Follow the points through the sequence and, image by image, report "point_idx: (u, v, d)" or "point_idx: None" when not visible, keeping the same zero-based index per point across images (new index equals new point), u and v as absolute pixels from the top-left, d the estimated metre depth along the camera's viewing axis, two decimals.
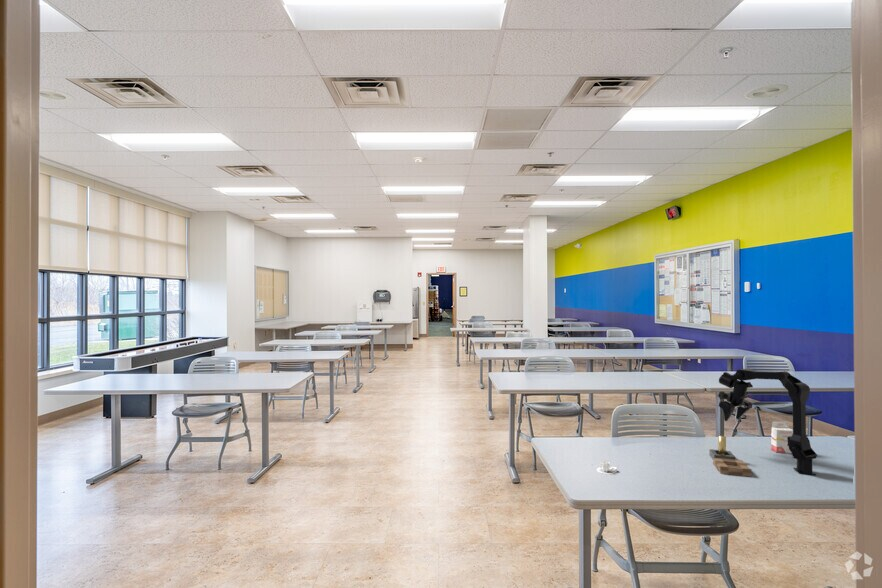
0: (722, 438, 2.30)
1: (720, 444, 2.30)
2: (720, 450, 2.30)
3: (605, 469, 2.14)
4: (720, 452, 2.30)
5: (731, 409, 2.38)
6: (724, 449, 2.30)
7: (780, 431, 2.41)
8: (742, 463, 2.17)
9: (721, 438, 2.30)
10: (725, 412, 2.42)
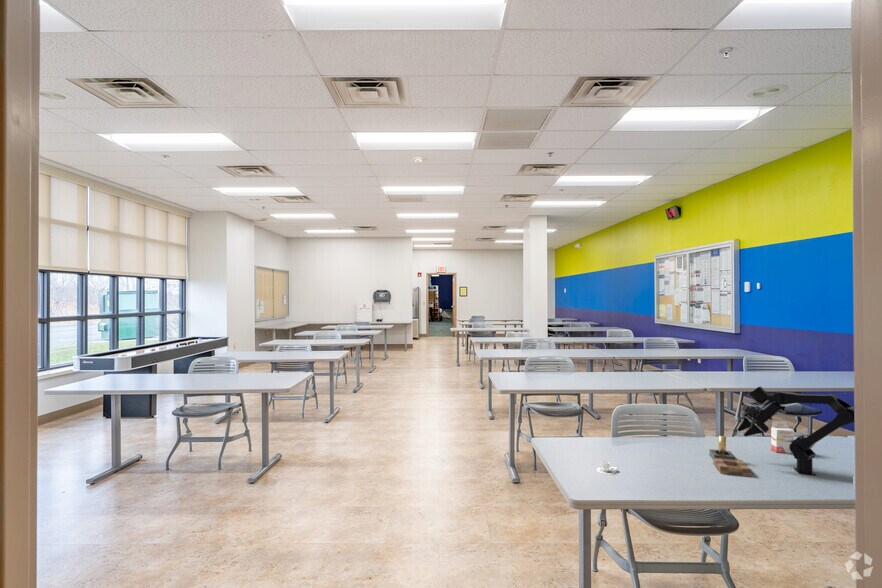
0: (722, 438, 2.30)
1: (720, 444, 2.30)
2: (720, 450, 2.30)
3: (605, 469, 2.14)
4: (720, 452, 2.30)
5: None
6: (724, 449, 2.30)
7: (780, 431, 2.41)
8: (742, 463, 2.17)
9: (721, 438, 2.30)
10: (752, 429, 2.22)
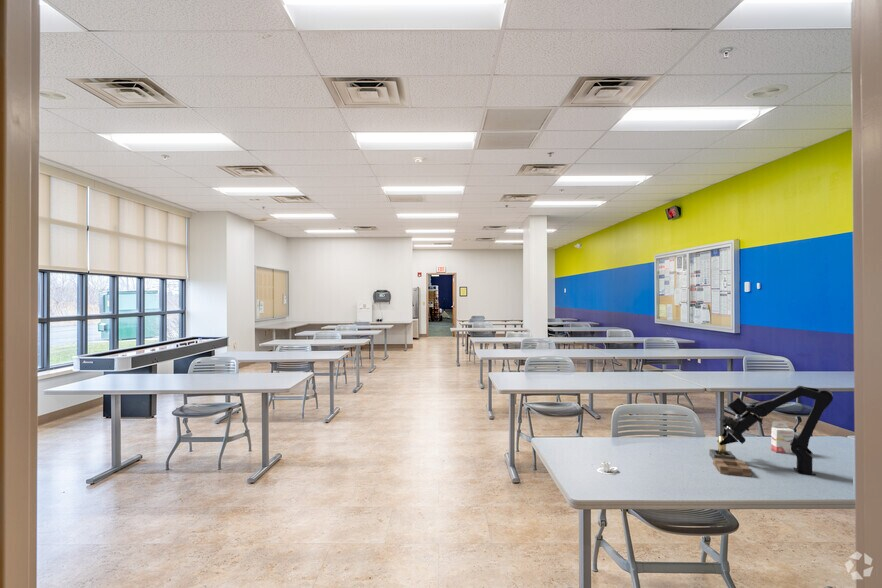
0: (722, 438, 2.30)
1: None
2: (720, 450, 2.30)
3: (605, 469, 2.14)
4: (720, 452, 2.30)
5: None
6: (724, 449, 2.30)
7: (780, 431, 2.41)
8: (742, 463, 2.17)
9: (721, 438, 2.30)
10: (727, 438, 2.28)
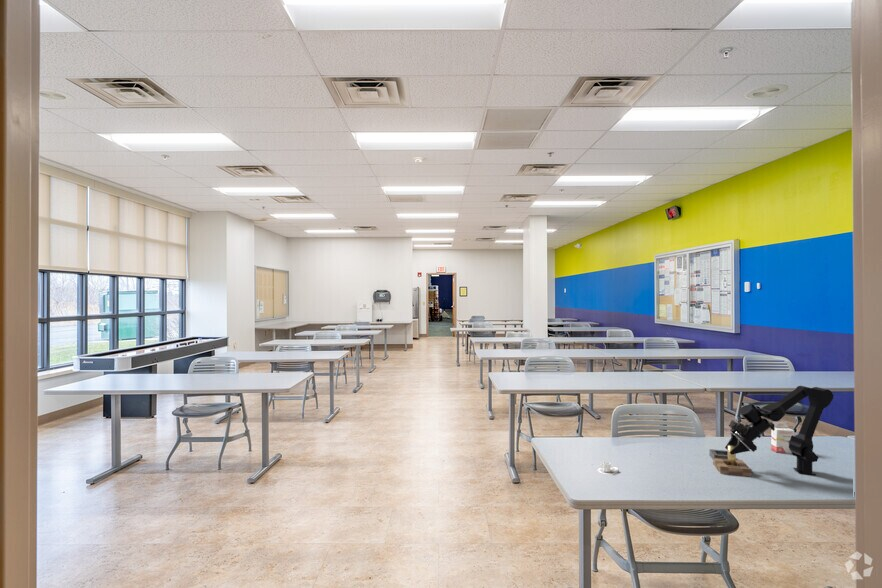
0: (731, 448, 2.15)
1: (729, 454, 2.16)
2: (729, 460, 2.16)
3: (606, 469, 2.14)
4: (729, 463, 2.16)
5: None
6: (734, 459, 2.15)
7: (780, 431, 2.41)
8: (742, 463, 2.17)
9: (730, 448, 2.16)
10: (738, 447, 2.12)
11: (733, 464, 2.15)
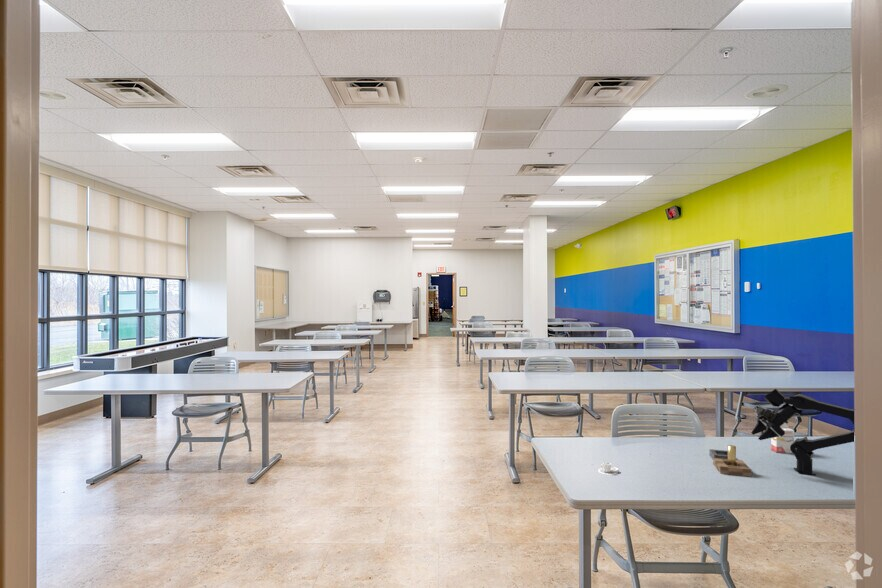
0: (732, 448, 2.15)
1: (729, 454, 2.16)
2: (729, 460, 2.16)
3: (606, 470, 2.13)
4: (729, 463, 2.16)
5: None
6: (734, 459, 2.15)
7: None
8: (742, 463, 2.17)
9: (731, 448, 2.16)
10: (767, 433, 2.16)
11: (733, 464, 2.15)
